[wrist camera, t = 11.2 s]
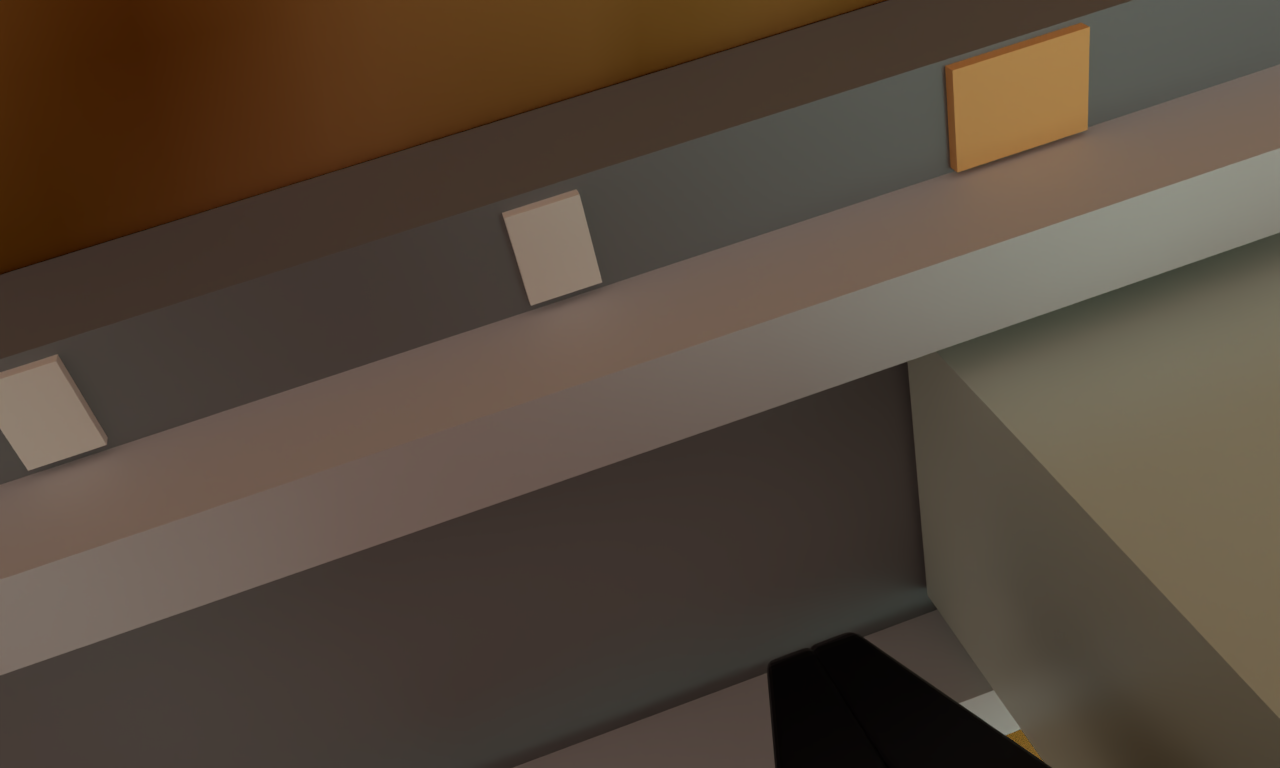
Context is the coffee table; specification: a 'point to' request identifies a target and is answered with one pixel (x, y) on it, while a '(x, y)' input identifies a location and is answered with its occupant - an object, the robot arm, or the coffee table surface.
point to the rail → (581, 393)
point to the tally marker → (1117, 516)
